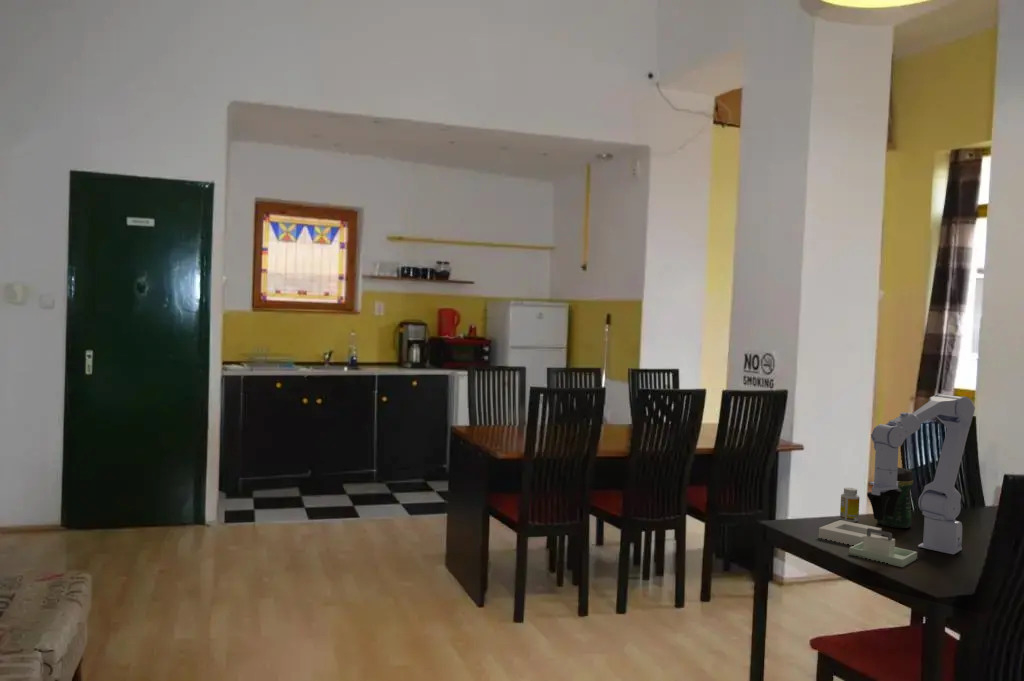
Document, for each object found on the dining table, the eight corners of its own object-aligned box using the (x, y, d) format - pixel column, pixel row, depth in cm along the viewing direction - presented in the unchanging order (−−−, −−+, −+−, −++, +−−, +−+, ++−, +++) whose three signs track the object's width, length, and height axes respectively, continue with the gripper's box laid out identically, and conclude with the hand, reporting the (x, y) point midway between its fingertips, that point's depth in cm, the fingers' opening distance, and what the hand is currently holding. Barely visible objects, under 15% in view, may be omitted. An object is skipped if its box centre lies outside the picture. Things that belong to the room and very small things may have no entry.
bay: (881, 538, 240) (881, 528, 239) (861, 547, 229) (861, 537, 229) (839, 529, 248) (840, 519, 248) (818, 537, 238) (819, 527, 237)
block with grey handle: (894, 555, 220) (895, 531, 220) (888, 558, 217) (890, 534, 217) (868, 549, 225) (869, 526, 225) (862, 552, 222) (863, 528, 222)
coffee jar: (914, 526, 255) (917, 468, 255) (904, 530, 250) (907, 471, 249) (883, 520, 262) (885, 463, 262) (873, 524, 257) (876, 466, 256)
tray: (916, 559, 219) (917, 551, 219) (902, 567, 211) (902, 559, 211) (864, 547, 229) (865, 540, 229) (848, 554, 221) (849, 547, 221)
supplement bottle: (861, 520, 260) (863, 489, 260) (853, 523, 257) (854, 491, 256) (845, 517, 265) (846, 486, 264) (836, 519, 261) (838, 488, 261)
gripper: (880, 463, 230) (878, 510, 231) (861, 469, 220) (858, 518, 220) (906, 467, 225) (904, 515, 226) (888, 473, 215) (885, 523, 215)
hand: (883, 517), depth 223 cm, fingers open, 7 cm apart
